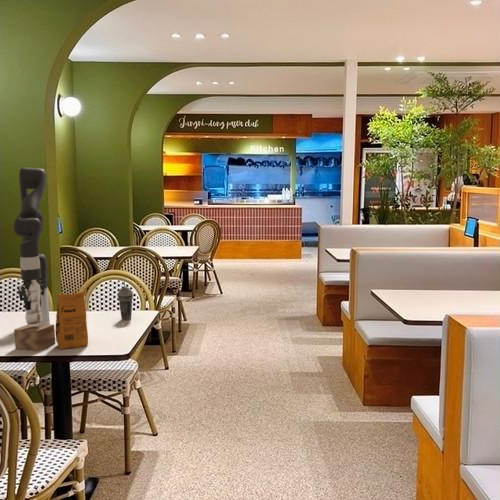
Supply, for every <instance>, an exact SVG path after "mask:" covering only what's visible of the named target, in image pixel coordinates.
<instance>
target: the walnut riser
mask: <svg viewBox="0 0 500 500" xmlns="http://www.w3.org/2000/svg"><path fill="white" fill-rule="evenodd" d="M13 330H14V346H15V347H14V348H15V350H25V351H36V352H38V351H40V350H43V349H46V348H48V347H50V346H52V345H55V344H56V333H55V331H56V328H55V324H50V323H49V324H39V323H37V324H28V325H27V324H26V325H23V326H20V327H17V328H15V329H13Z"/></svg>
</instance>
